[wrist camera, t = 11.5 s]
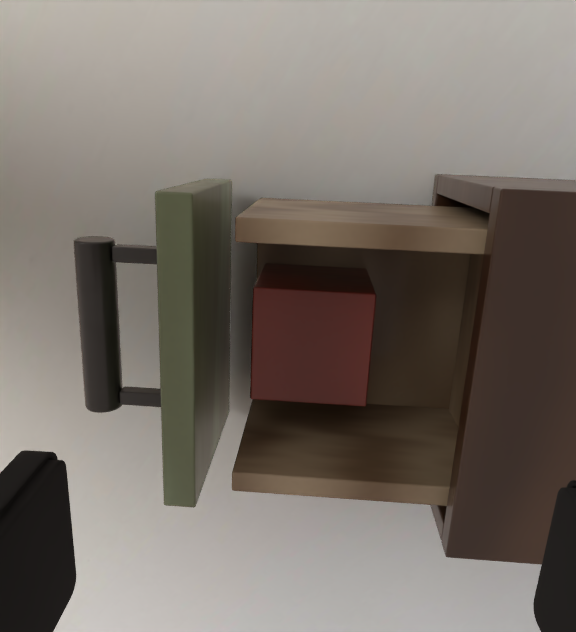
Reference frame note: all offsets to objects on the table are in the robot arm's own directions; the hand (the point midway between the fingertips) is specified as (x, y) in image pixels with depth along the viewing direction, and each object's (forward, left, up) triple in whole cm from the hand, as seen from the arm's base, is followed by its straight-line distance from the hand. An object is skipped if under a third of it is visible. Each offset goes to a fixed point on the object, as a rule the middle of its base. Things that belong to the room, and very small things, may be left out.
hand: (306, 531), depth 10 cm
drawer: (-1, 0, -16) cm, 16 cm away
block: (0, 0, -15) cm, 15 cm away
